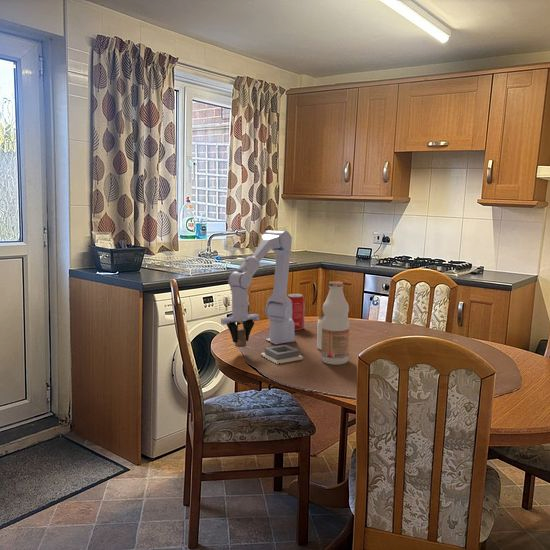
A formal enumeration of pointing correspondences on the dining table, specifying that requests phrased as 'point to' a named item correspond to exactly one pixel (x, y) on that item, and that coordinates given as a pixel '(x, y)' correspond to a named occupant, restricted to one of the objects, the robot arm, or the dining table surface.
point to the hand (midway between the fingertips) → (240, 341)
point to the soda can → (297, 310)
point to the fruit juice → (335, 326)
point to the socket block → (281, 354)
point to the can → (319, 333)
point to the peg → (241, 337)
